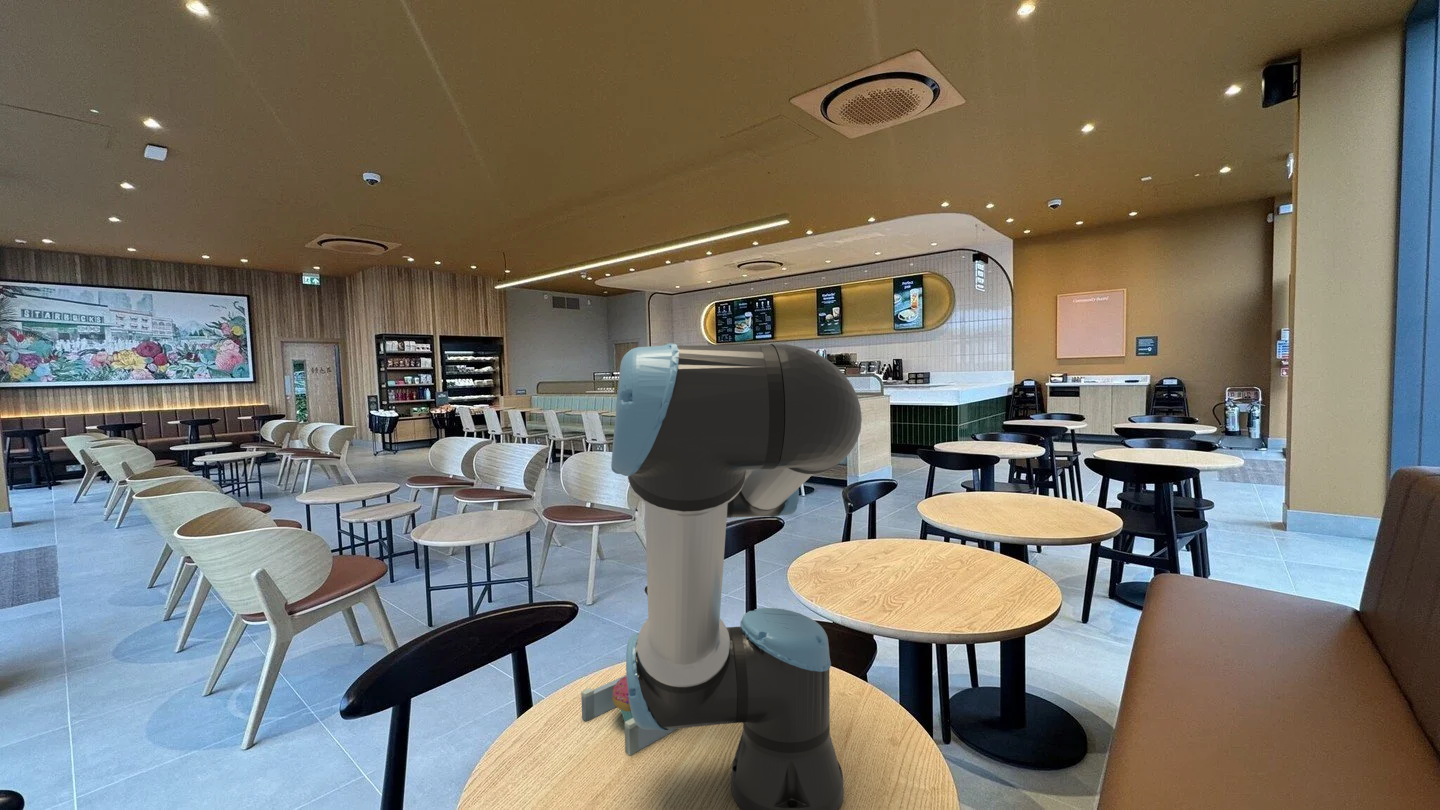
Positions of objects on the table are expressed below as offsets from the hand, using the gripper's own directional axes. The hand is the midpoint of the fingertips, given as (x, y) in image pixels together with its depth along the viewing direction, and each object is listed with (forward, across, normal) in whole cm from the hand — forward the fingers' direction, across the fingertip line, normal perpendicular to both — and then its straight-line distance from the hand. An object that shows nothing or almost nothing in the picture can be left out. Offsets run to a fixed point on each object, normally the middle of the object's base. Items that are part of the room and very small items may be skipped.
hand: (679, 672), depth 101 cm
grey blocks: (+4, +8, 0) cm, 10 cm away
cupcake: (+5, +9, 0) cm, 10 cm away
